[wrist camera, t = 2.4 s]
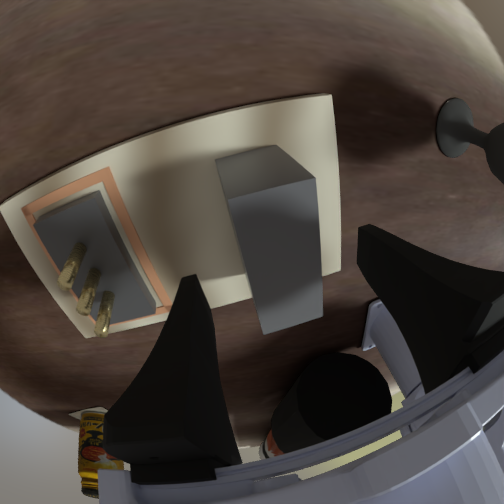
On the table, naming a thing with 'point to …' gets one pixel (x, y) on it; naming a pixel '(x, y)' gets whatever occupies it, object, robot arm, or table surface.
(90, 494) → the condiment
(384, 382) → the striped banded cylinder
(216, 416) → the robot arm
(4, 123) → the table surface
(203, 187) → the board
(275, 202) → the block
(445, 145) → the sundae
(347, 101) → the table surface
